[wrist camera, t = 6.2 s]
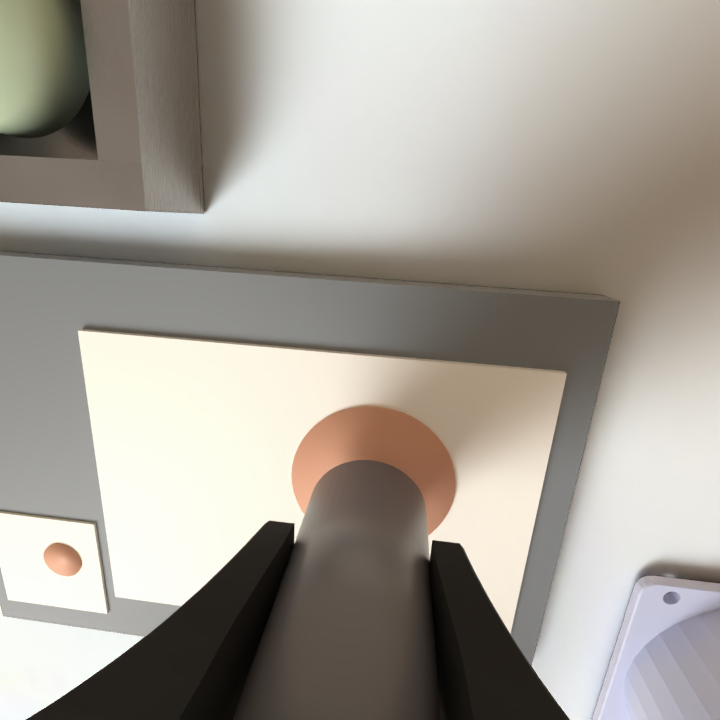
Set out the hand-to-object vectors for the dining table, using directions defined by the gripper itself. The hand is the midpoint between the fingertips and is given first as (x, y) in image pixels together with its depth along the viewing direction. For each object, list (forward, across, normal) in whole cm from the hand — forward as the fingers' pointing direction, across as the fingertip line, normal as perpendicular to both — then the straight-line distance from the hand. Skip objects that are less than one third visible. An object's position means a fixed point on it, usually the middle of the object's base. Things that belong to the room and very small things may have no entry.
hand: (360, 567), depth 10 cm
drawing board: (+5, +4, +1) cm, 6 cm away
